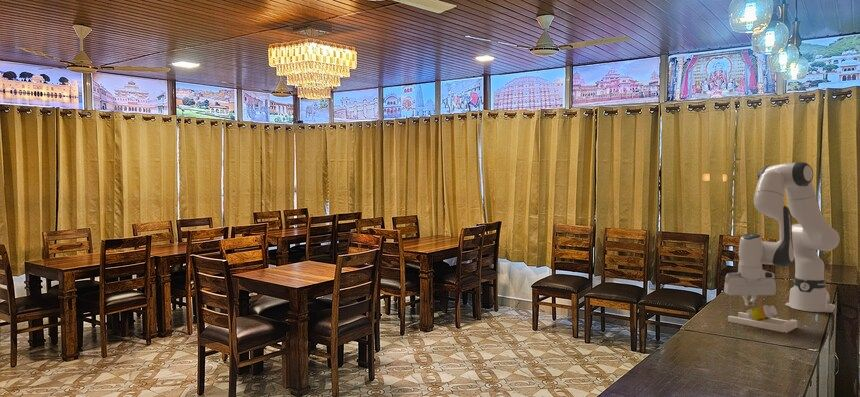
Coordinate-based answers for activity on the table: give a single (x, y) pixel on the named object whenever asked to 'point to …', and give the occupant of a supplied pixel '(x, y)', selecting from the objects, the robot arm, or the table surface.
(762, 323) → the u rest
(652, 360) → the table surface
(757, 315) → the supplement bottle
